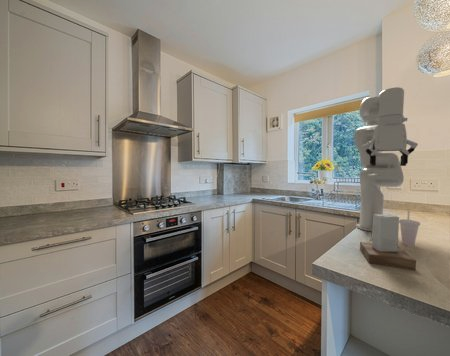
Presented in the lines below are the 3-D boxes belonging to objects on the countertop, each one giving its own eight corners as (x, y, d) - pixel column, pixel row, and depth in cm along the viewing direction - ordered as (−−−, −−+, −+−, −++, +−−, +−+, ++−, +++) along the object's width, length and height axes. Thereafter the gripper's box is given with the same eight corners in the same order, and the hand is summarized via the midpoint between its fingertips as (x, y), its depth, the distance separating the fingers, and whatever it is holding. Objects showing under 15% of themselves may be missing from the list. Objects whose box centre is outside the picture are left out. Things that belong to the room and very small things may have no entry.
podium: (359, 249, 78) (360, 241, 78) (398, 254, 74) (399, 246, 74) (369, 263, 67) (369, 254, 67) (415, 270, 63) (416, 260, 62)
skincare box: (387, 247, 73) (389, 213, 72) (398, 252, 68) (400, 216, 68) (370, 247, 73) (372, 213, 72) (380, 252, 68) (381, 216, 68)
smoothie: (408, 241, 87) (410, 209, 86) (423, 247, 81) (425, 212, 80) (393, 241, 87) (395, 209, 86) (407, 247, 81) (409, 212, 80)
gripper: (413, 122, 80) (410, 165, 81) (361, 125, 86) (359, 165, 87) (423, 117, 73) (421, 165, 74) (366, 121, 79) (364, 165, 80)
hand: (387, 165), depth 80 cm, fingers open, 9 cm apart
